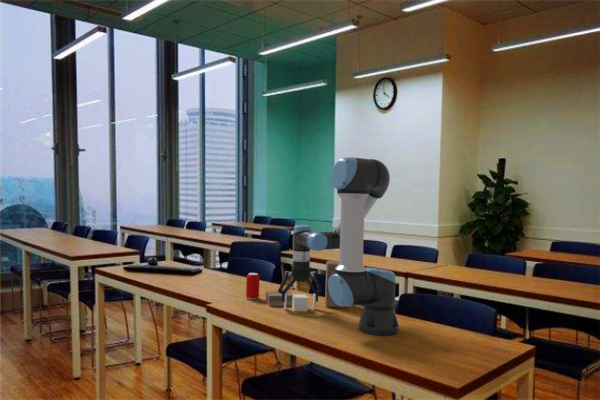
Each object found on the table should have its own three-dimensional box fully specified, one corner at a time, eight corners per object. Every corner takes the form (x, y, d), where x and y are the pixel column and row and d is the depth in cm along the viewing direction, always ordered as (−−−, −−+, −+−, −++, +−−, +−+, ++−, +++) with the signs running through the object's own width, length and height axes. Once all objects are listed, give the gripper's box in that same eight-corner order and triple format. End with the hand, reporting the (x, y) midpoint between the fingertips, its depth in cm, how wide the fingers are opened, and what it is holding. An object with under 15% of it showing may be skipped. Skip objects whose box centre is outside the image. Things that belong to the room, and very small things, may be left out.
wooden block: (347, 308, 206) (349, 264, 206) (325, 307, 206) (327, 263, 206) (346, 303, 216) (347, 261, 216) (324, 302, 216) (326, 260, 216)
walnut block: (292, 306, 208) (293, 295, 208) (269, 306, 206) (269, 295, 206) (288, 300, 219) (288, 290, 219) (265, 301, 217) (266, 290, 217)
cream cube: (307, 311, 199) (307, 297, 199) (293, 311, 198) (294, 297, 198) (305, 307, 205) (305, 294, 205) (292, 308, 204) (292, 294, 204)
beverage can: (254, 300, 215) (255, 275, 215) (243, 298, 218) (244, 273, 218) (261, 298, 221) (262, 273, 221) (250, 296, 224) (251, 272, 224)
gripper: (326, 259, 207) (325, 306, 207) (272, 258, 203) (271, 306, 204) (330, 261, 199) (328, 311, 200) (274, 261, 196) (272, 311, 196)
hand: (299, 309), depth 202 cm, fingers open, 12 cm apart
